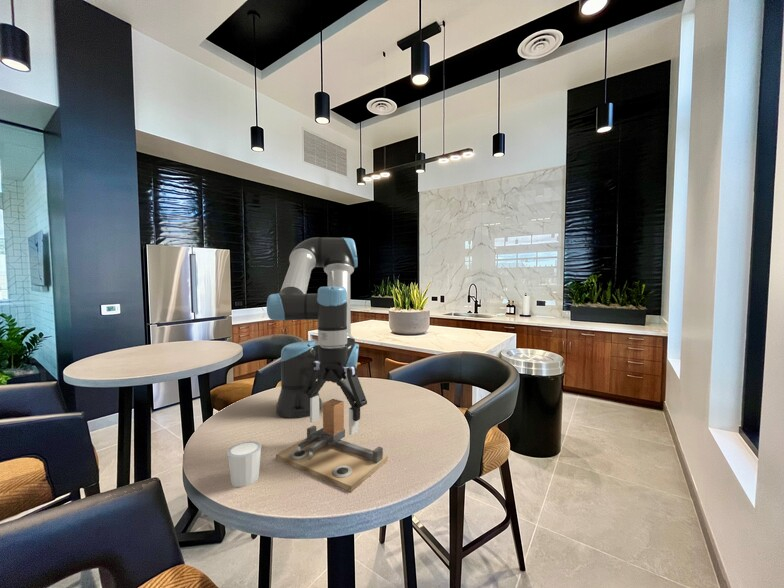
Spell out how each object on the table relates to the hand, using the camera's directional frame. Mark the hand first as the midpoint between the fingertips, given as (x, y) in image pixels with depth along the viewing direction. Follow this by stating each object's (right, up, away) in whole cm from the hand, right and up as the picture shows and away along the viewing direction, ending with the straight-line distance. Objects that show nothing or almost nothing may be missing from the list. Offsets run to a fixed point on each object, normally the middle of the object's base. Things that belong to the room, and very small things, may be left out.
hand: (333, 426), depth 83 cm
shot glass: (-17, -7, -12) cm, 22 cm away
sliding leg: (-2, -5, -2) cm, 5 cm away
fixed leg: (-5, -5, 0) cm, 7 cm away
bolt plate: (0, -6, -5) cm, 8 cm away
